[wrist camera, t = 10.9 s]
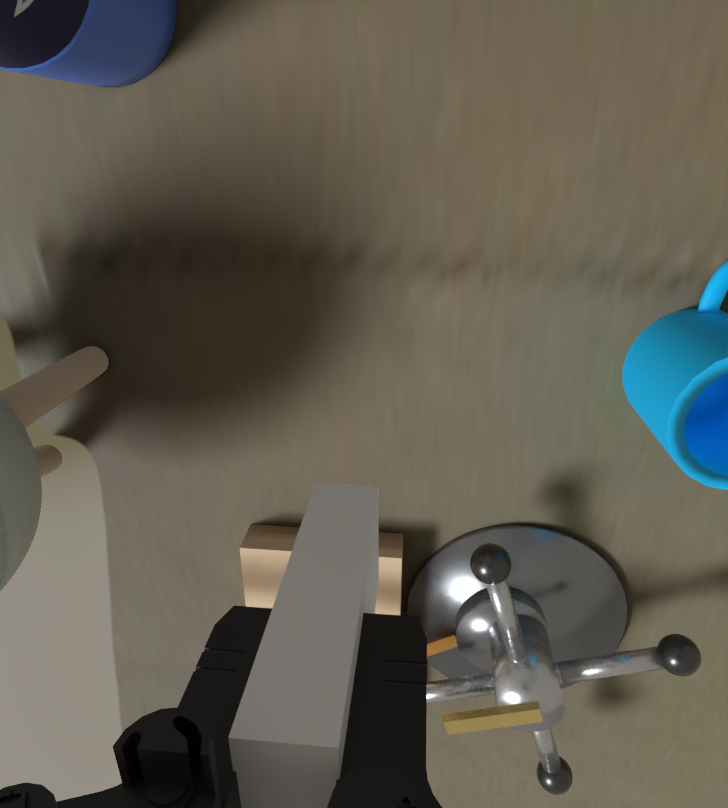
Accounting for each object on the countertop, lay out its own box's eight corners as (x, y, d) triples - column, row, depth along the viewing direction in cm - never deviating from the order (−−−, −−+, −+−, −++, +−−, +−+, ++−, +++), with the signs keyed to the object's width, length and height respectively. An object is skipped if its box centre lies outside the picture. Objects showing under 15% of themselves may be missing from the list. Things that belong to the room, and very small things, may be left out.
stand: (251, 524, 47) (229, 569, 42) (403, 533, 46) (400, 580, 41) (265, 689, 54) (249, 744, 49) (398, 701, 53) (394, 758, 48)
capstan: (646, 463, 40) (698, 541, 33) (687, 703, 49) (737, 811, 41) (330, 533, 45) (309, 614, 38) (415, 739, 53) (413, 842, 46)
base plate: (410, 517, 45) (410, 523, 44) (643, 530, 44) (647, 537, 43) (404, 681, 52) (404, 689, 51) (605, 698, 50) (608, 706, 50)
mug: (738, 428, 40) (809, 494, 32) (612, 423, 41) (652, 486, 33) (790, 244, 35) (886, 272, 28) (645, 242, 36) (701, 269, 28)
